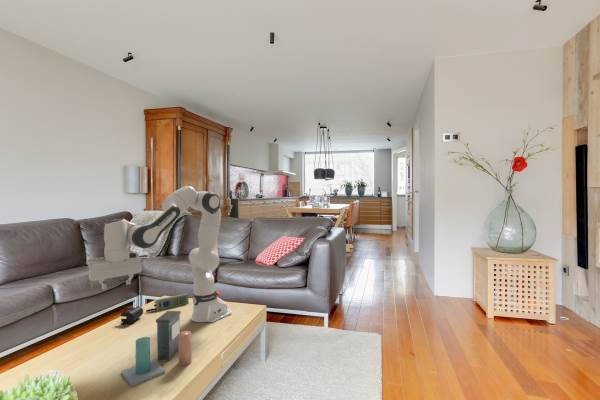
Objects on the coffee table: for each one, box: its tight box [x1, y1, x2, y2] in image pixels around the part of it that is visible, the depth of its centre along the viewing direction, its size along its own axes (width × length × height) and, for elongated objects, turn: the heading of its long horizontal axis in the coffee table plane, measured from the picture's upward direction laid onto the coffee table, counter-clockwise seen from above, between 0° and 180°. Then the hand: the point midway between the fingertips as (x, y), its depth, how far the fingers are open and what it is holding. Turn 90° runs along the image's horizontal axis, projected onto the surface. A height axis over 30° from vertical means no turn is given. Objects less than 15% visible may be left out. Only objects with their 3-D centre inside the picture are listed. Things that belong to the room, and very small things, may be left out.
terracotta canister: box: [177, 330, 192, 366], centre depth 128 cm, size 5×5×12 cm
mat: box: [120, 359, 166, 387], centre depth 120 cm, size 12×12×1 cm
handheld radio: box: [145, 292, 190, 313], centre depth 192 cm, size 7×3×25 cm
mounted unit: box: [155, 310, 182, 362], centre depth 134 cm, size 10×6×17 cm, turn 176°
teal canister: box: [135, 336, 151, 374], centre depth 120 cm, size 5×5×12 cm
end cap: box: [120, 305, 144, 325], centre depth 172 cm, size 10×7×7 cm
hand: (116, 286), depth 137 cm, fingers open, 8 cm apart
